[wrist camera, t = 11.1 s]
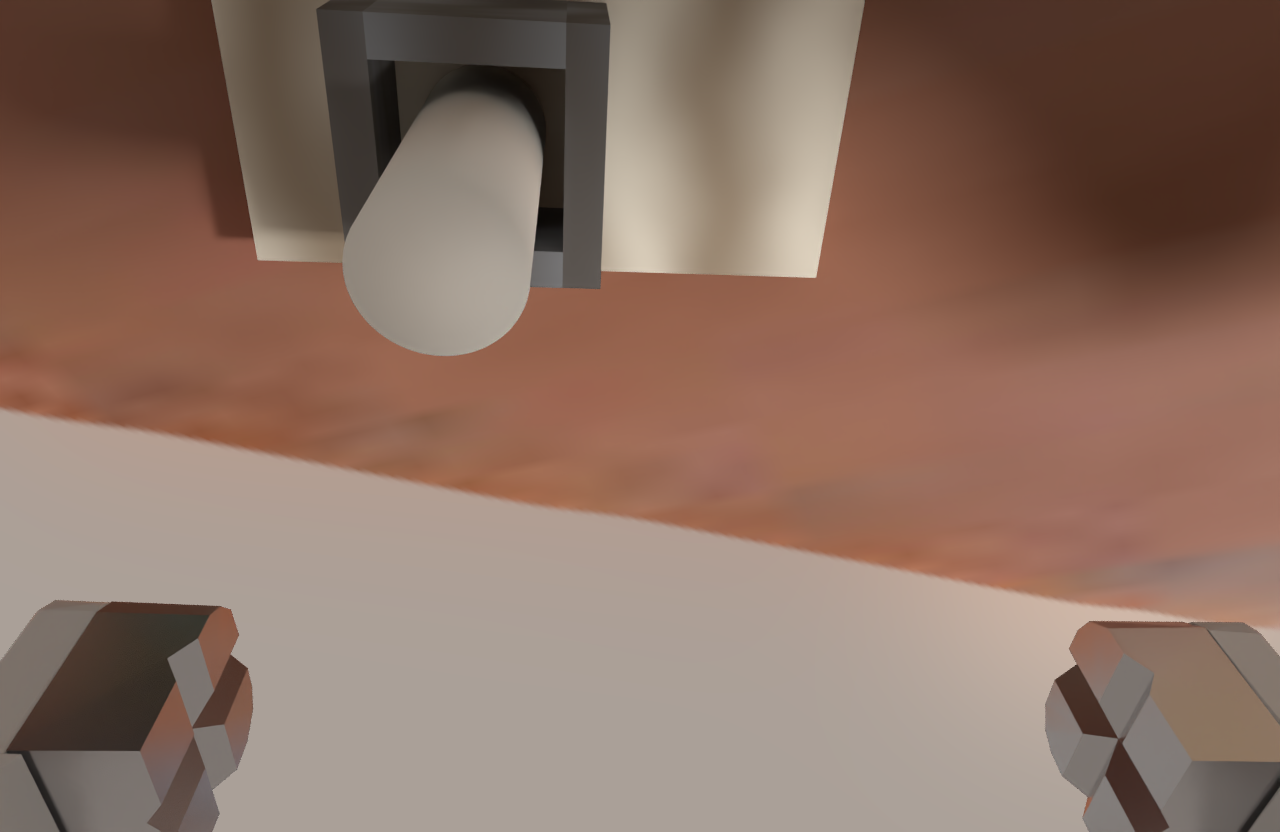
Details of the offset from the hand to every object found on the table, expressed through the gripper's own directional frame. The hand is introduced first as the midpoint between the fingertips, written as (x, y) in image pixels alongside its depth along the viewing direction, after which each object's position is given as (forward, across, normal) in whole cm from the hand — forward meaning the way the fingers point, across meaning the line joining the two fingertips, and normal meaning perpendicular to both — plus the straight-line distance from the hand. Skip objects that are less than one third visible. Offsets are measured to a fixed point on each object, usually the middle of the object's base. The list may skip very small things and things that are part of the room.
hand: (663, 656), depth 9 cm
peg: (+24, +4, +2) cm, 24 cm away
